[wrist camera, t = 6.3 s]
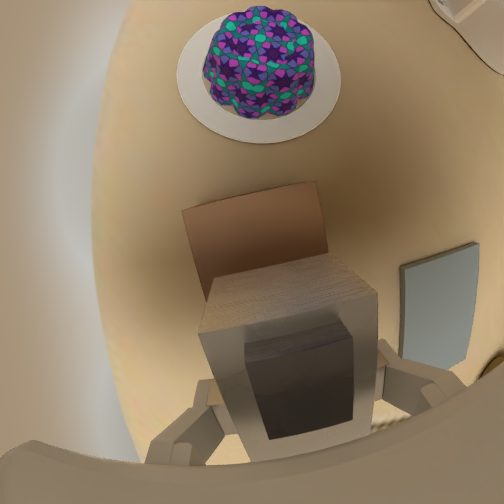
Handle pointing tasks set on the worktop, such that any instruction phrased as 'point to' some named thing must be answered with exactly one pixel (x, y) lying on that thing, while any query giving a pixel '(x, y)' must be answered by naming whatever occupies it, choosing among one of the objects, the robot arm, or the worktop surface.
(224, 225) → the brown stand
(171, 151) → the worktop surface
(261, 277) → the lever cap
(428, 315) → the rubber mat
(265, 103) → the pudding
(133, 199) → the worktop surface
